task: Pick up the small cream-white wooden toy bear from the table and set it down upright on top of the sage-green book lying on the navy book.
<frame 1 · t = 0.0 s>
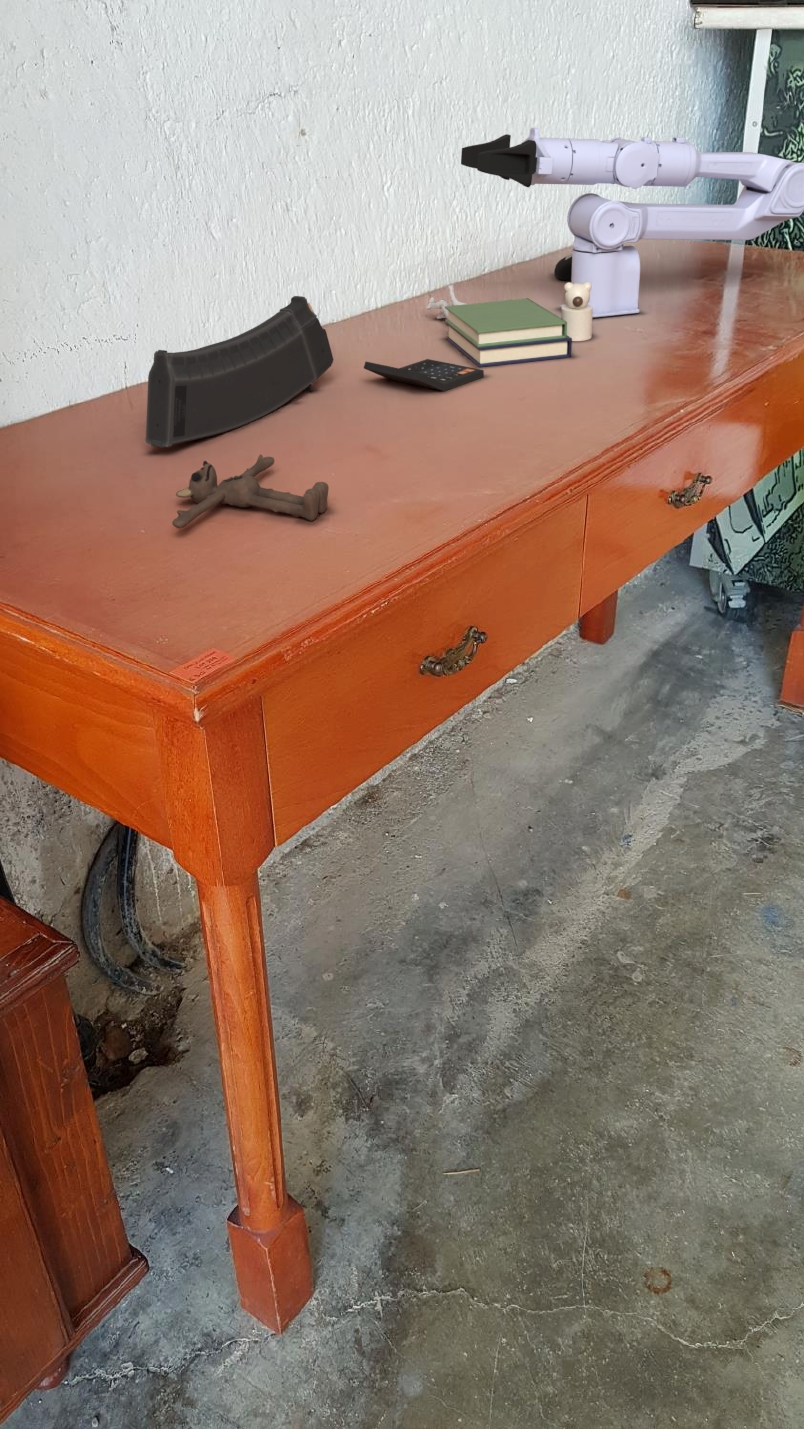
hand: (470, 159, 154), 22 cm above the table, tool horizontal, fingers open, 7 cm apart
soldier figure: (458, 327, 165), on the table
magazine: (249, 418, 132), on the table
book stack: (506, 347, 154), on the table
toy bear: (576, 337, 157), on the table
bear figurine: (253, 510, 108), on the table
computer mouse: (590, 277, 191), on the table
calculator: (424, 383, 142), on the table
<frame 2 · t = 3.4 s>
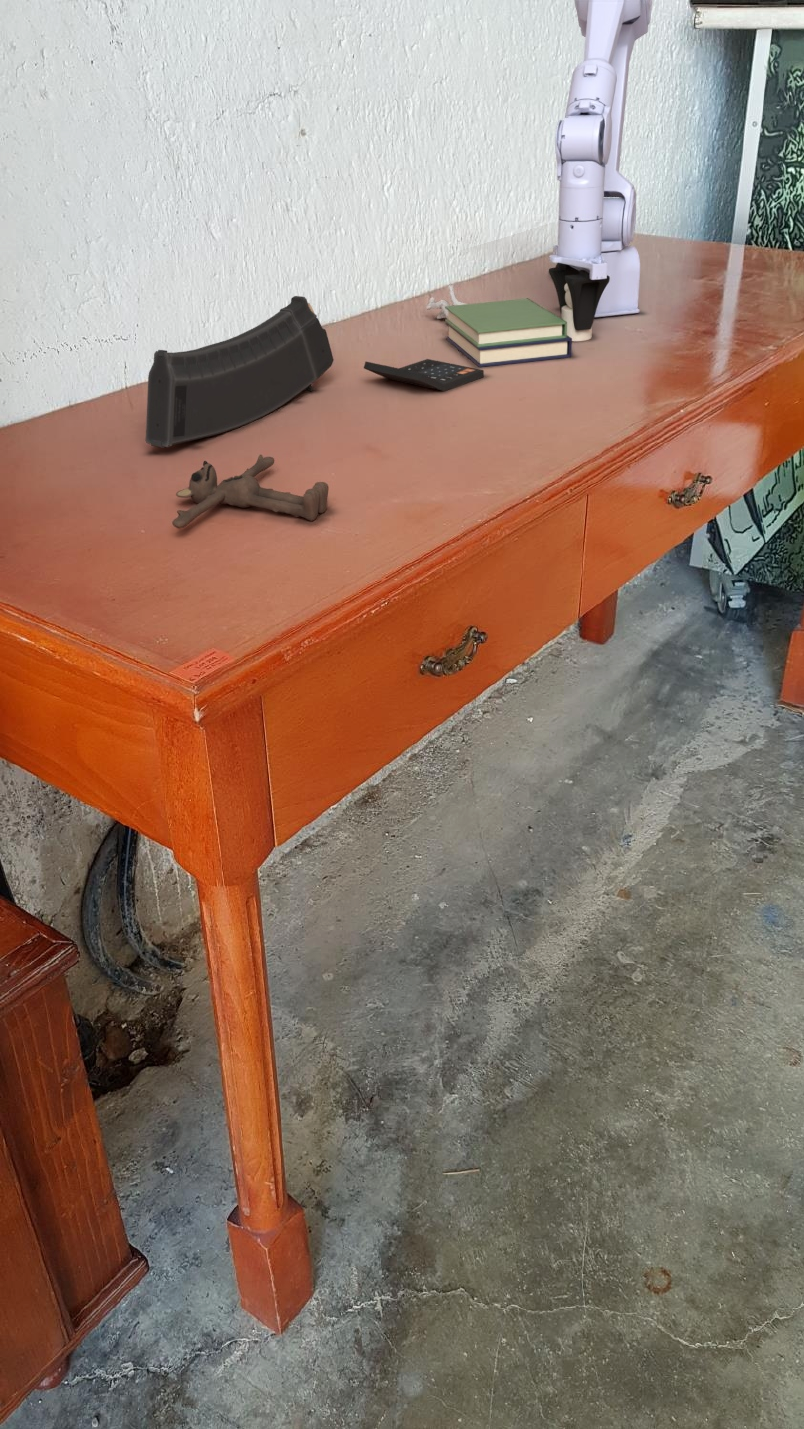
hand: (576, 325, 156), 2 cm above the table, tool pointing down, fingers closed on toy bear, 4 cm apart
toy bear: (576, 337, 157), on the table, touching gripper
everything else where it was.
when the fingers open (6 cm above the table, at t = 6.9 s): toy bear stays where it is, resting on book stack.
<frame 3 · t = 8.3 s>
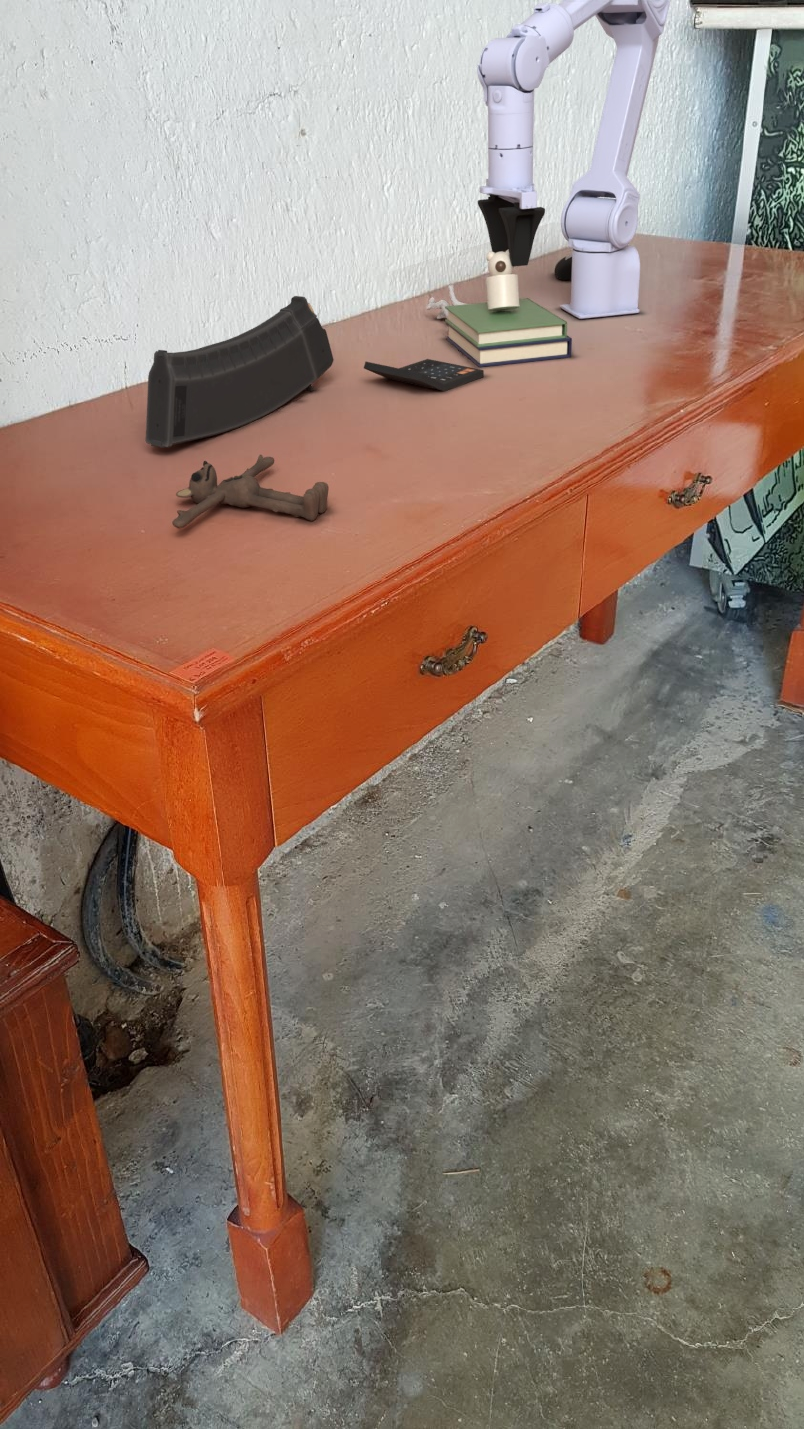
hand: (510, 260, 152), 10 cm above the table, tool pointing down, fingers open, 7 cm apart
toy bear: (503, 308, 151), point 5 cm above the table, tilted 18°, touching book stack
everything else where it was.
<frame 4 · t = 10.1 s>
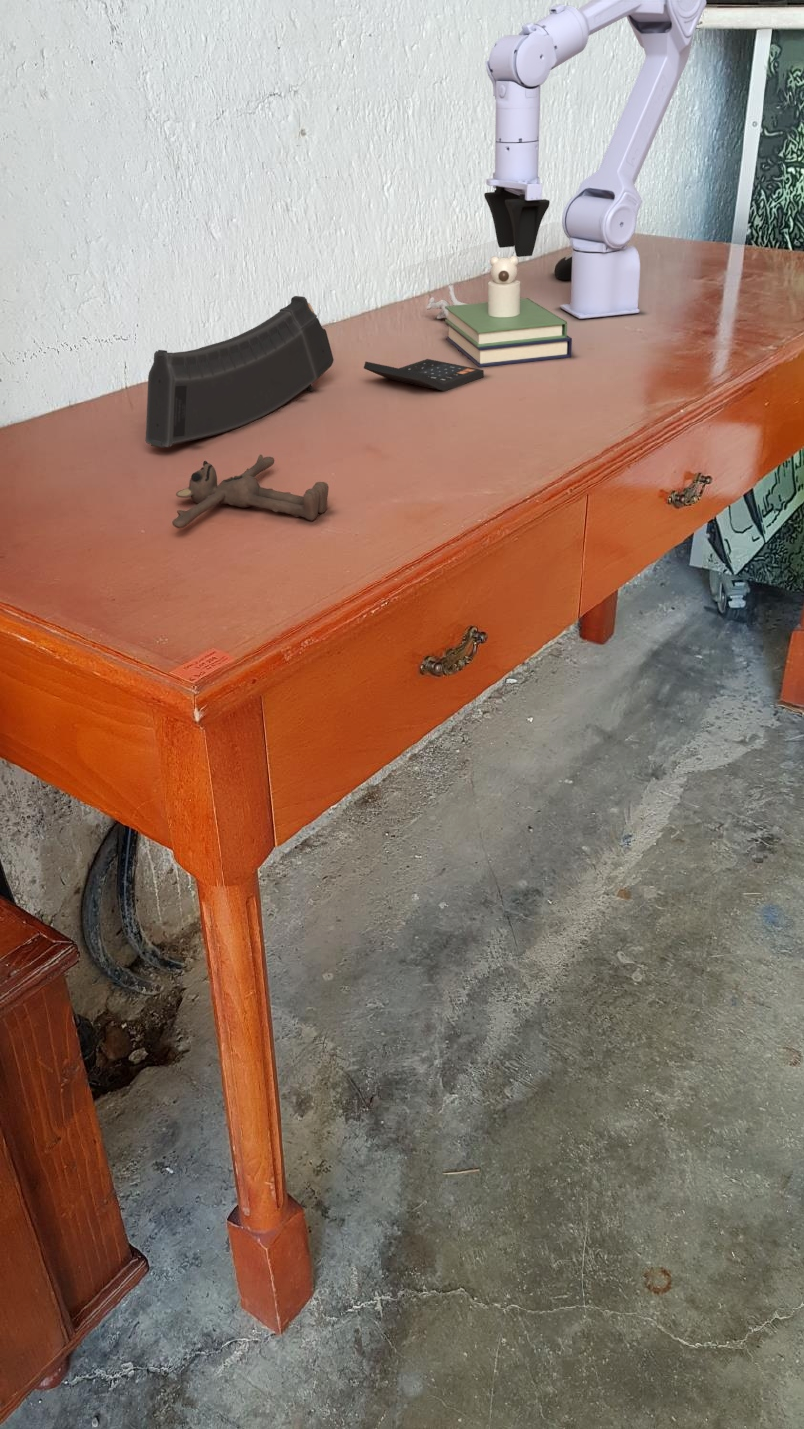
hand: (515, 251, 157), 10 cm above the table, tool pointing down, fingers open, 7 cm apart
toy bear: (503, 313, 152), point 4 cm above the table, touching book stack
everything else where it was.
at the end: toy bear inside the target area on the book stack (0.0 cm from its centre), point 4.4 cm above the book stack's base; toy bear tilted 0°; the gripper is holding nothing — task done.
